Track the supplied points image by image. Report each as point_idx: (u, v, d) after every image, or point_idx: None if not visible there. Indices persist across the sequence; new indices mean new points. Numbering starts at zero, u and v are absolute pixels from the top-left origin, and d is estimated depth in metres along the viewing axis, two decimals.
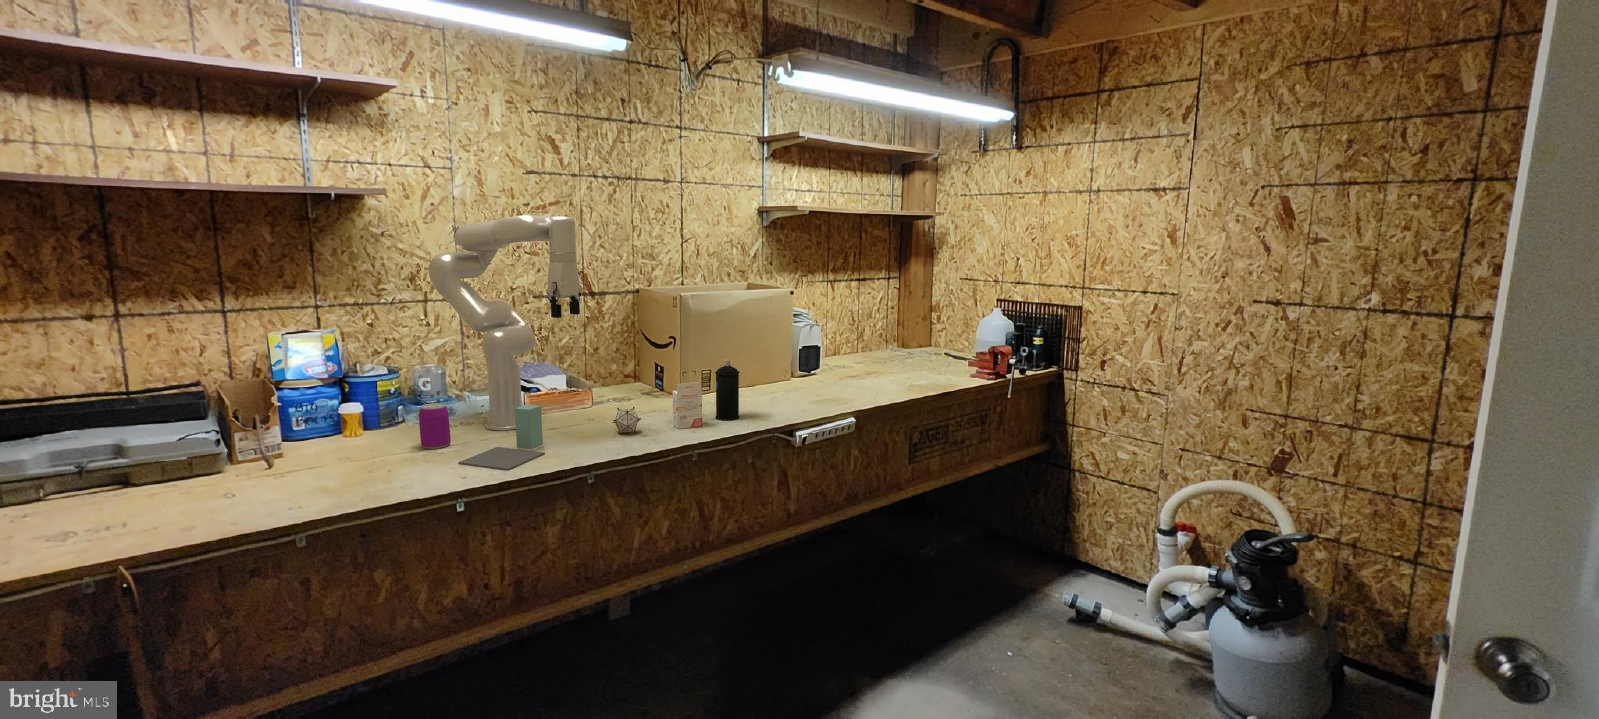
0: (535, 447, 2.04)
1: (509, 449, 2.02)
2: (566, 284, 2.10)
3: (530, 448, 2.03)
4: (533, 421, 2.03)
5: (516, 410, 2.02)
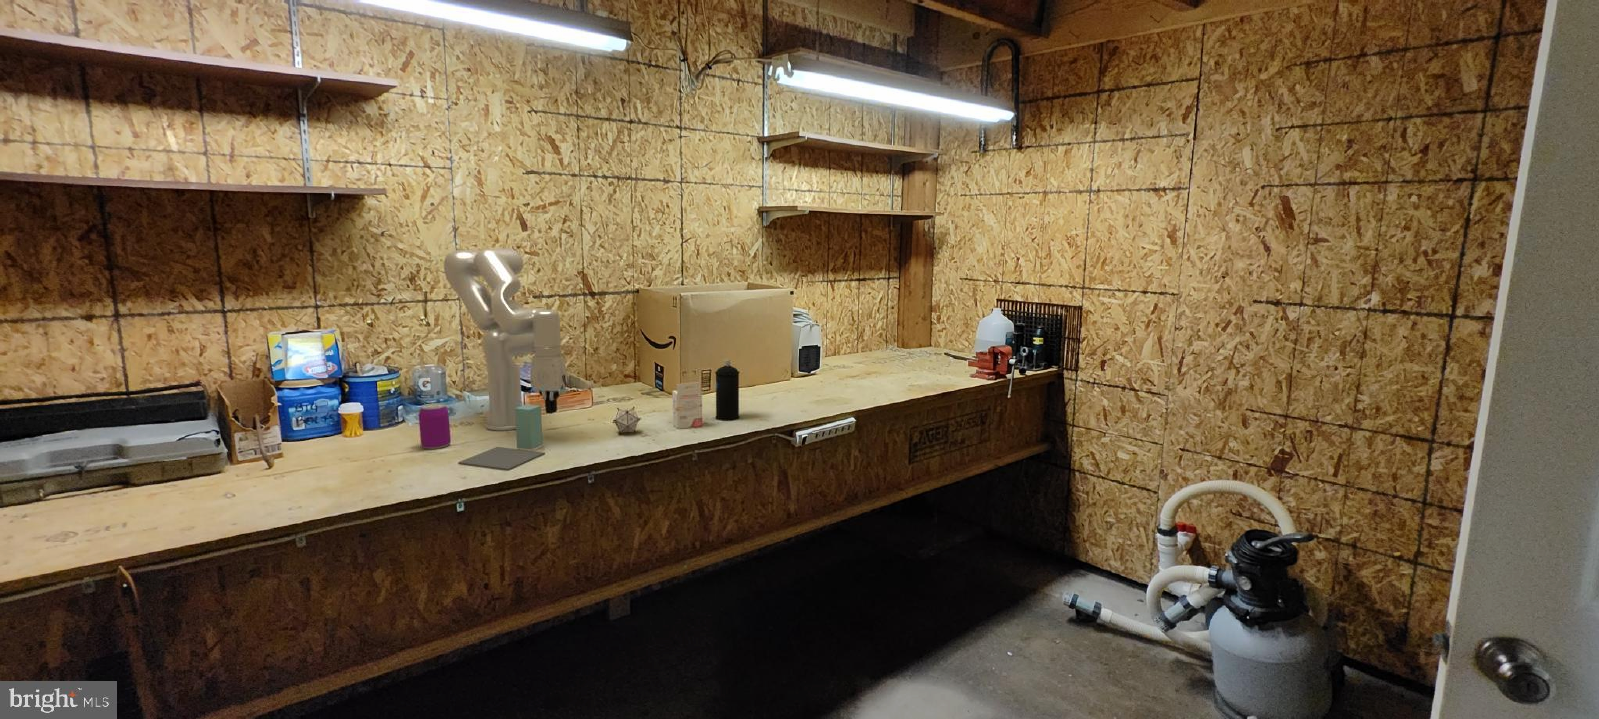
0: (535, 447, 2.04)
1: (509, 449, 2.02)
2: None
3: (530, 448, 2.03)
4: (533, 421, 2.03)
5: (516, 410, 2.02)
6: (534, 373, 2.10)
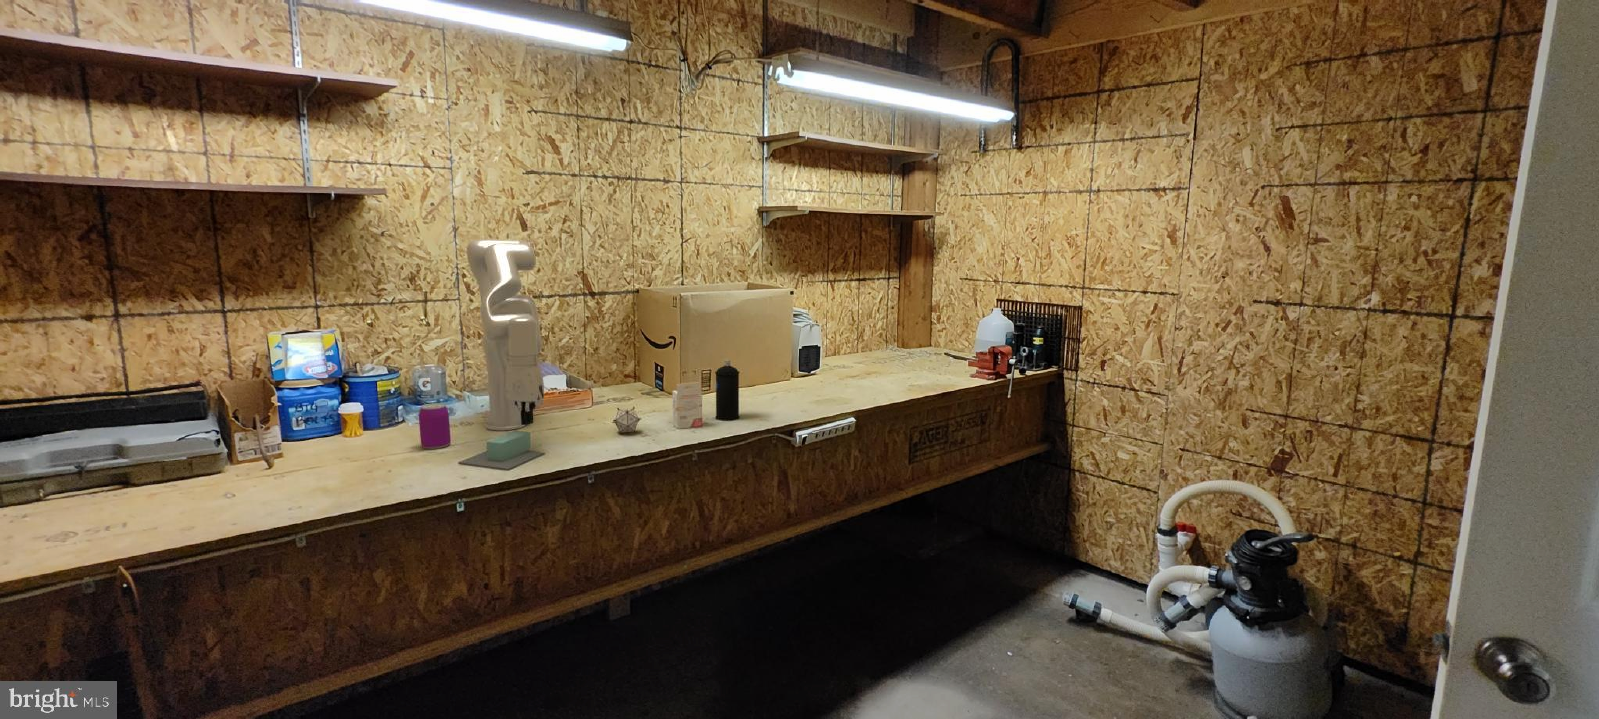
0: (530, 442, 2.02)
1: None
2: None
3: None
4: (512, 452, 1.95)
5: None
6: (509, 383, 2.00)
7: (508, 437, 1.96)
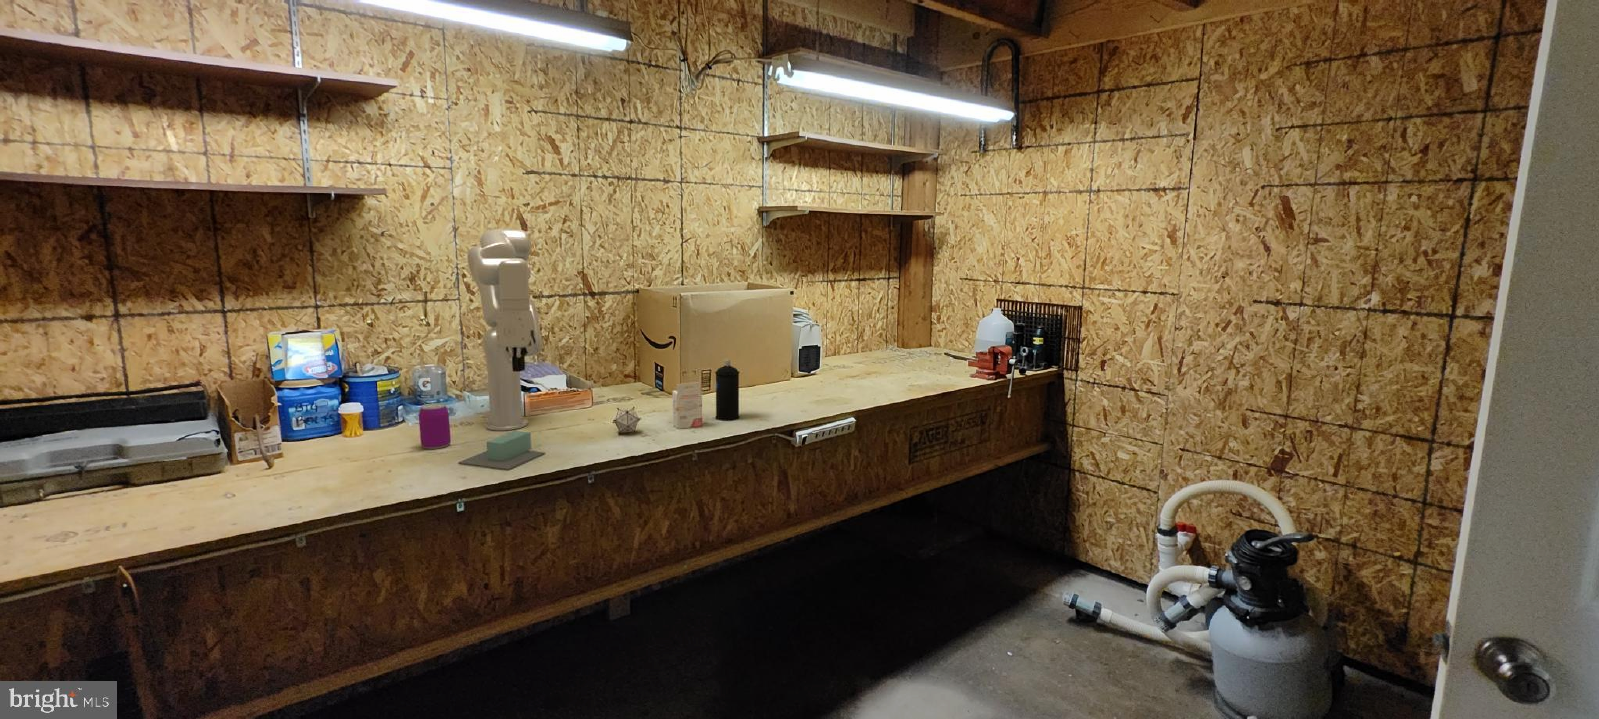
0: (530, 442, 2.02)
1: None
2: None
3: None
4: (512, 452, 1.95)
5: None
6: (500, 328, 1.95)
7: (508, 437, 1.96)
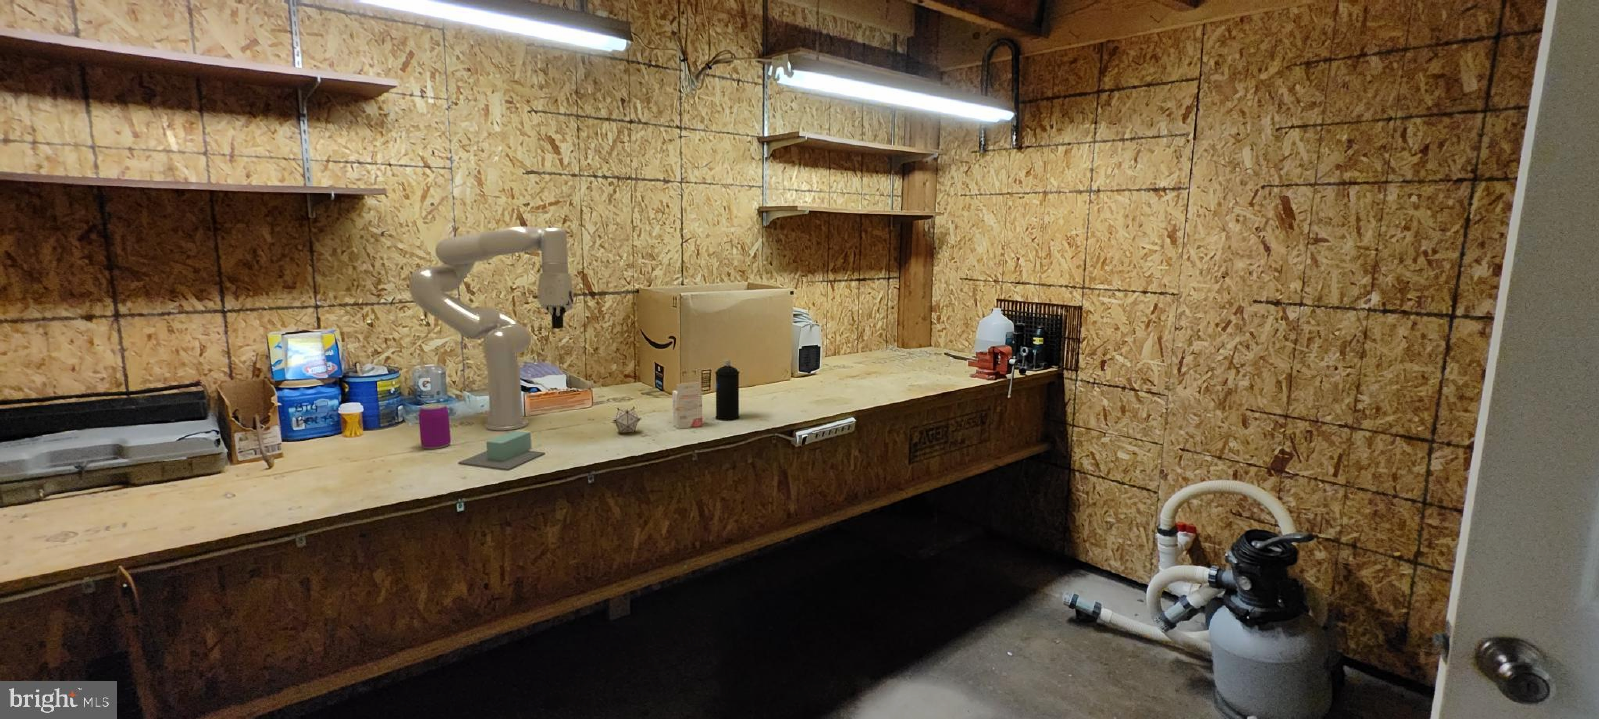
0: (530, 442, 2.02)
1: None
2: None
3: None
4: (512, 452, 1.95)
5: None
6: (541, 289, 2.17)
7: (508, 437, 1.96)
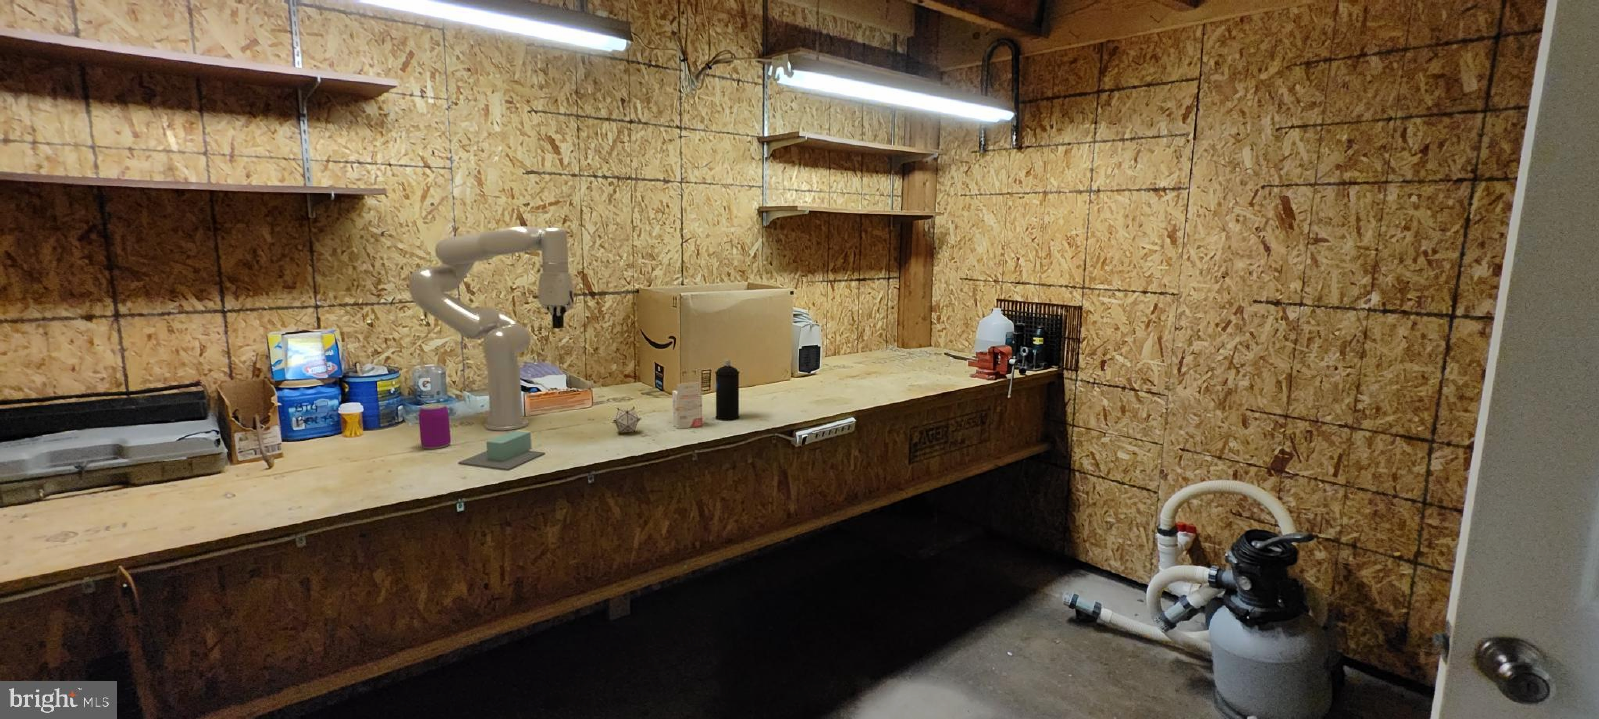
0: (530, 442, 2.02)
1: None
2: None
3: None
4: (512, 452, 1.95)
5: None
6: (542, 288, 2.17)
7: (508, 437, 1.96)
